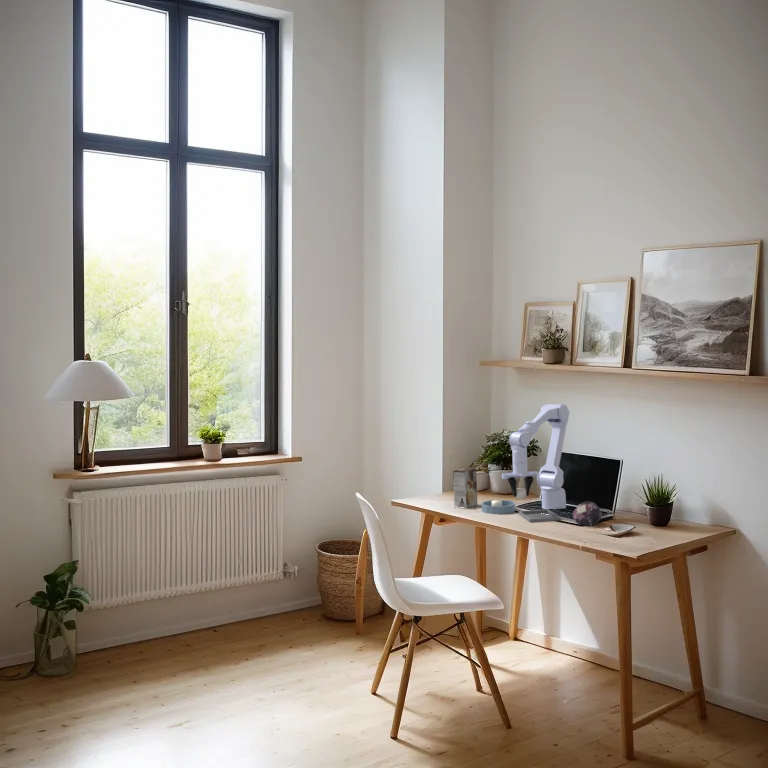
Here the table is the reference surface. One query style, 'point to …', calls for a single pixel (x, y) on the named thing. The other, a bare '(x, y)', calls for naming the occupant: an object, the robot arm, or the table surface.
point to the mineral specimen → (587, 514)
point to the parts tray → (539, 515)
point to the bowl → (498, 507)
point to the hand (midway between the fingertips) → (520, 495)
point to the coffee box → (465, 487)
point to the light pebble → (496, 503)
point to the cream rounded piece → (521, 493)
